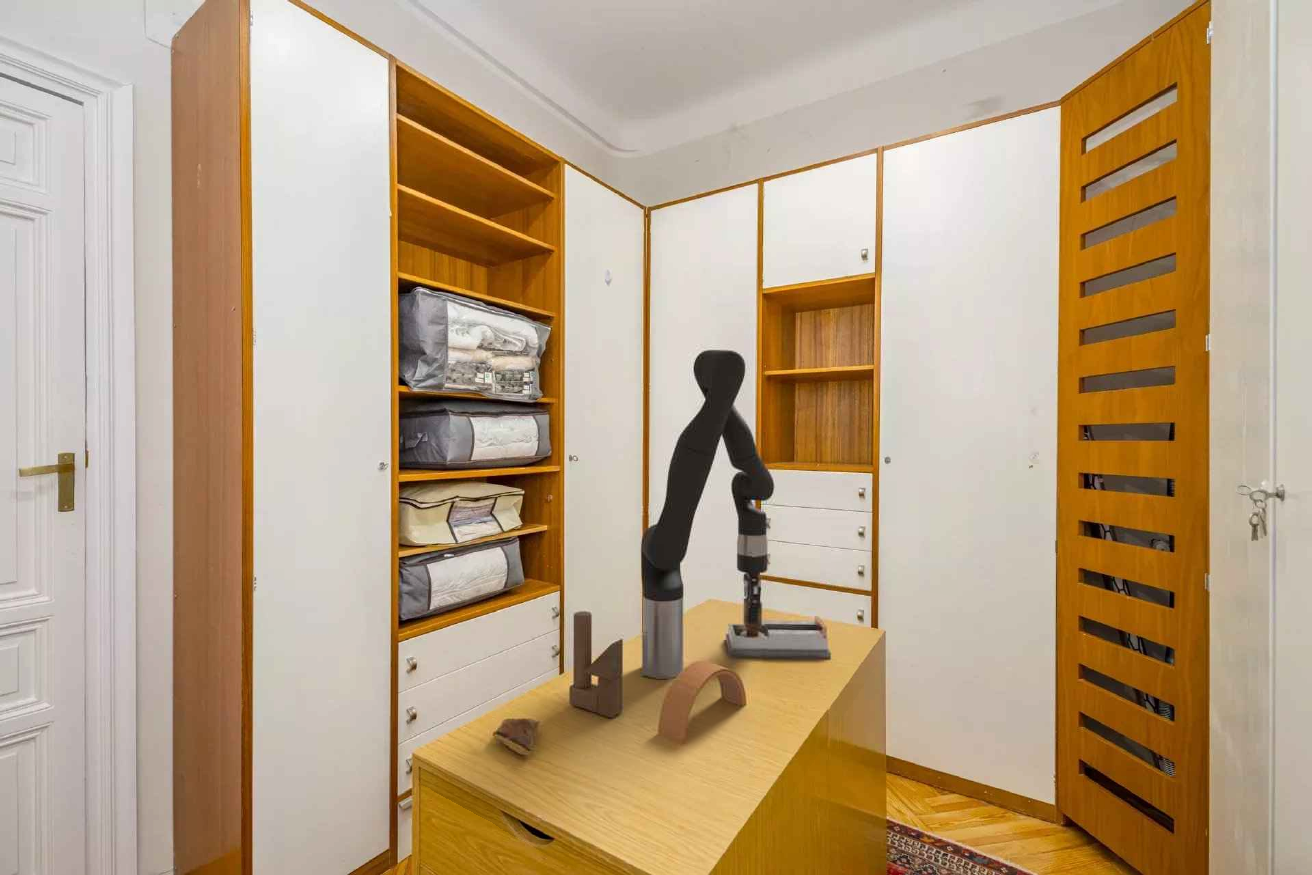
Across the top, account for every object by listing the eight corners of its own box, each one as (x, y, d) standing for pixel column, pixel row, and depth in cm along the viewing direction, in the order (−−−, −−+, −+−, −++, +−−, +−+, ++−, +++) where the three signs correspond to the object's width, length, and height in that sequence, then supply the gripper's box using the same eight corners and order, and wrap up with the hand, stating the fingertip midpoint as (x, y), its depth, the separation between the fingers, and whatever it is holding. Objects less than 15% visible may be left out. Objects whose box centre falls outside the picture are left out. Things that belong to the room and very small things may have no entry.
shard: (530, 759, 95) (530, 748, 95) (483, 761, 94) (482, 750, 94) (540, 727, 106) (540, 717, 106) (498, 728, 105) (498, 718, 105)
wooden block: (611, 719, 109) (611, 624, 109) (568, 704, 115) (568, 614, 115) (623, 711, 112) (623, 618, 112) (580, 697, 118) (580, 609, 118)
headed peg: (741, 644, 142) (742, 604, 142) (739, 636, 148) (739, 597, 148) (766, 645, 142) (766, 604, 142) (762, 636, 148) (762, 597, 148)
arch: (747, 705, 115) (747, 655, 115) (681, 745, 100) (681, 688, 100) (723, 696, 119) (723, 648, 119) (657, 733, 104) (657, 678, 104)
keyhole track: (730, 657, 139) (730, 628, 139) (725, 639, 151) (725, 612, 151) (830, 658, 139) (830, 629, 139) (818, 640, 151) (818, 613, 151)
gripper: (734, 545, 152) (733, 610, 152) (740, 557, 138) (740, 629, 138) (762, 546, 152) (762, 611, 152) (772, 557, 138) (771, 629, 138)
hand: (751, 619), depth 145 cm, fingers closed on headed peg, 4 cm apart
